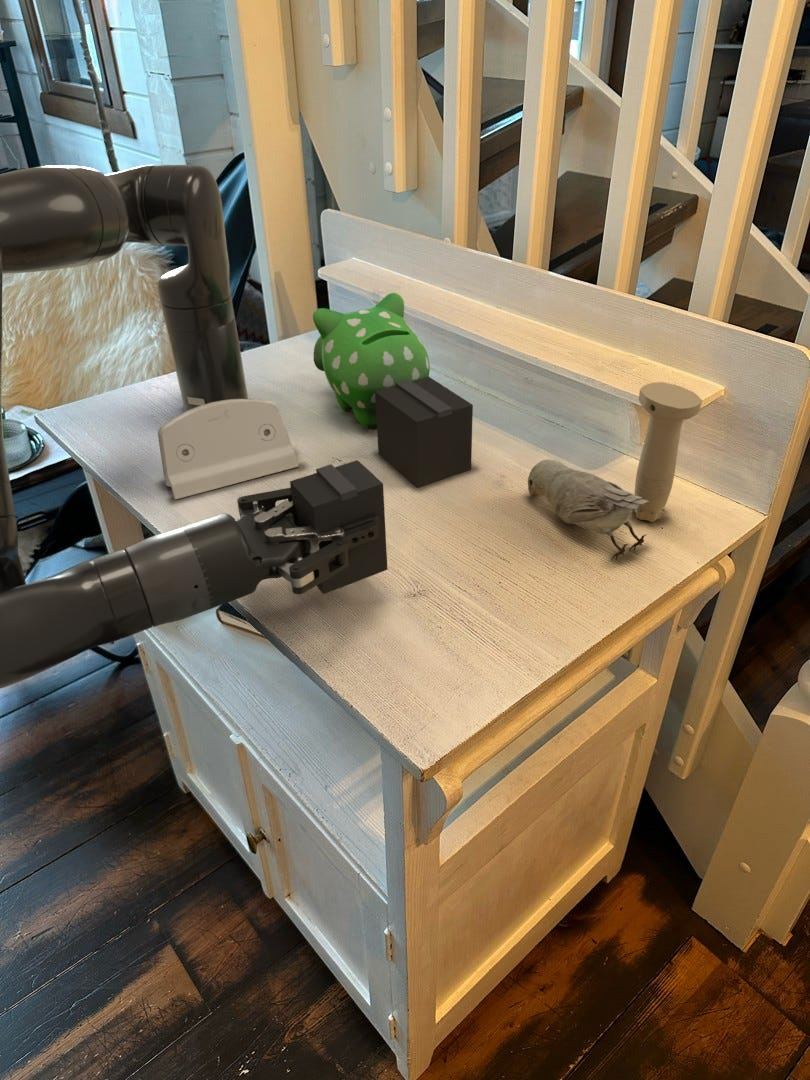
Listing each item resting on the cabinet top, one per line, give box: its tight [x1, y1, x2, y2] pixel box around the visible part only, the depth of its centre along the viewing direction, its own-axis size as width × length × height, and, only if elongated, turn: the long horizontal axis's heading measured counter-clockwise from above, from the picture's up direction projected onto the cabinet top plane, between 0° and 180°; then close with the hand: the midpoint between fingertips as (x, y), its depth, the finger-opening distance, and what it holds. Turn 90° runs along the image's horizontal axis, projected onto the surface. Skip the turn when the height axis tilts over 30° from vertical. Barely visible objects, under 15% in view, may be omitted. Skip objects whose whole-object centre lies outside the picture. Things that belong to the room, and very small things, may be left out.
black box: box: [289, 459, 388, 595], centre depth 71 cm, size 5×7×10 cm
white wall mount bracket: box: [157, 398, 299, 500], centre depth 96 cm, size 17×5×10 cm, turn 117°
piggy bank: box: [312, 292, 431, 430], centre depth 107 cm, size 14×18×15 cm
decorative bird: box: [527, 459, 649, 562], centre depth 83 cm, size 5×16×8 cm, turn 34°
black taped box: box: [375, 376, 474, 488], centre depth 95 cm, size 10×8×9 cm
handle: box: [633, 381, 703, 523], centre depth 82 cm, size 5×6×15 cm
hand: (363, 509), depth 72 cm, fingers closed on black box, 5 cm apart
